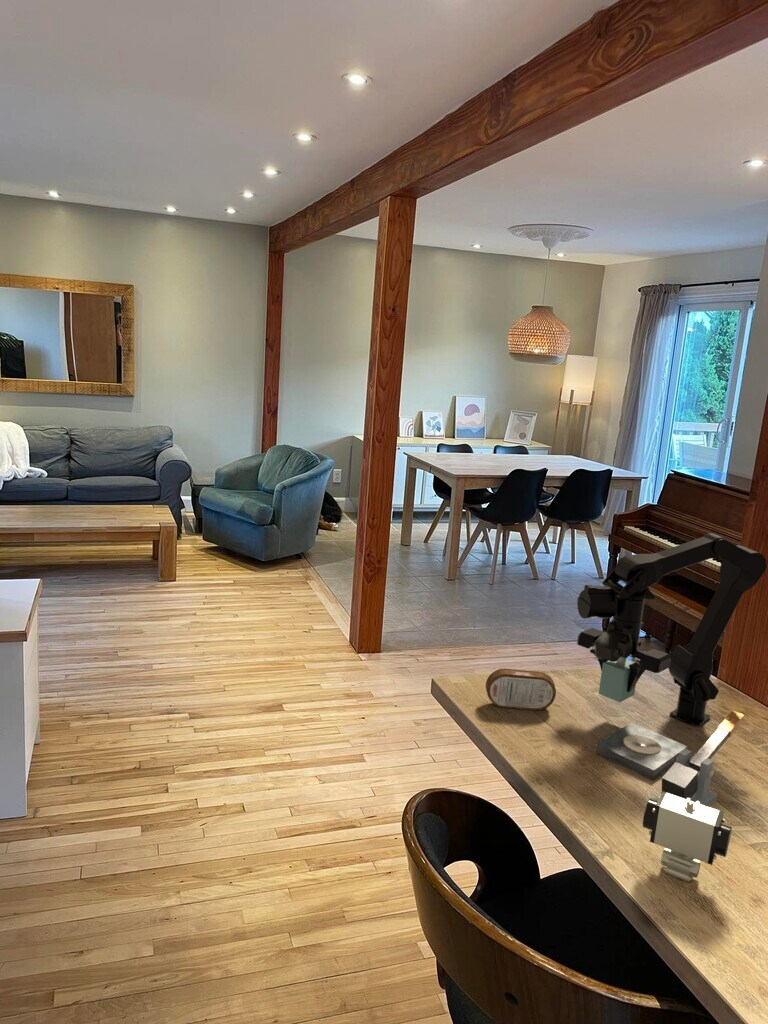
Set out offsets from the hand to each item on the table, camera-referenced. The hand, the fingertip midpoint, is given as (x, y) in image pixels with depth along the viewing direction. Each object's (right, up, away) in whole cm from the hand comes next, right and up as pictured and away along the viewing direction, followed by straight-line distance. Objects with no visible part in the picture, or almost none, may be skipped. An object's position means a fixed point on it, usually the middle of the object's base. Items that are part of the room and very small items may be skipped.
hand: (617, 687), depth 162 cm
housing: (0, -2, 0) cm, 2 cm away
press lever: (+9, -8, -23) cm, 26 cm away
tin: (-20, -6, +4) cm, 21 cm away
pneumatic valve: (-5, -18, -46) cm, 50 cm away
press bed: (+1, -10, -12) cm, 16 cm away
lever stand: (+5, -14, -26) cm, 30 cm away
